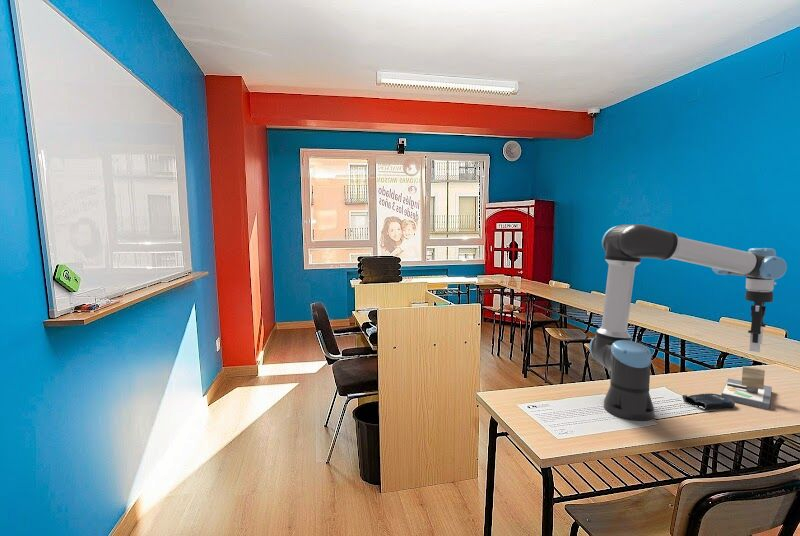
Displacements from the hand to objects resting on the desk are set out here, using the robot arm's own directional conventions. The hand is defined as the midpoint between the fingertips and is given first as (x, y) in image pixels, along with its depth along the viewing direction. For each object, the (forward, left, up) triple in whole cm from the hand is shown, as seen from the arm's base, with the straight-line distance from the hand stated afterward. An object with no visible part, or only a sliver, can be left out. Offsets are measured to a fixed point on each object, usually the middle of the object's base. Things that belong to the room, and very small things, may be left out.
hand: (755, 347), depth 145 cm
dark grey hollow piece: (-18, -11, -20) cm, 28 cm away
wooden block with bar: (-2, +1, -17) cm, 17 cm away
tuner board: (-1, +2, -19) cm, 19 cm away
